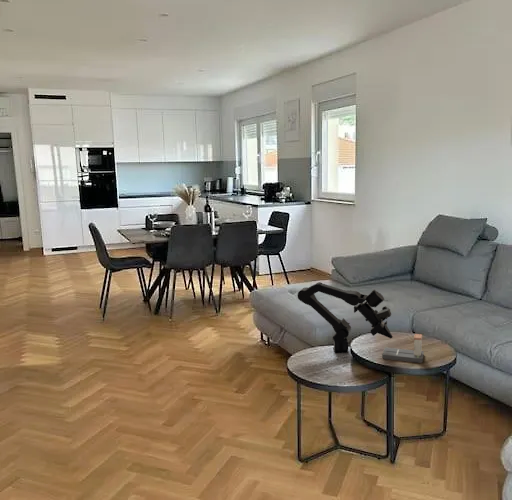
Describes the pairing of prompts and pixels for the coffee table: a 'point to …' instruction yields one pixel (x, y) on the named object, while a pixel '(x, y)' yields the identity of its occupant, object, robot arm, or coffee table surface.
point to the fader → (417, 344)
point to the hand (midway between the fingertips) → (391, 337)
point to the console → (402, 355)
